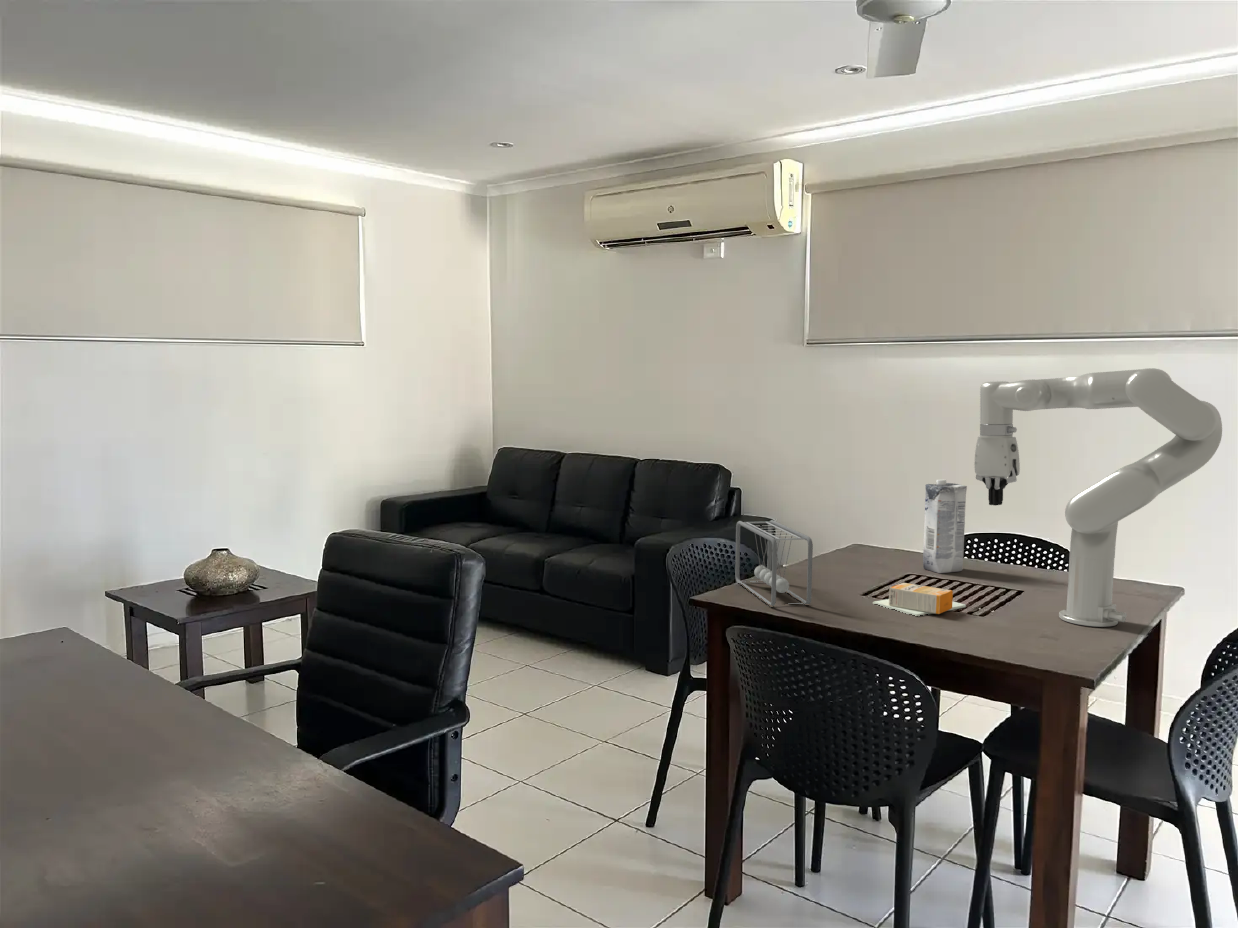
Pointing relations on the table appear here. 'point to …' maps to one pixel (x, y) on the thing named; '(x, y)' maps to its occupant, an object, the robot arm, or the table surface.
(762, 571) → the newton's cradle
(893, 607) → the mat
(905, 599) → the supplement box
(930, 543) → the juice carton
